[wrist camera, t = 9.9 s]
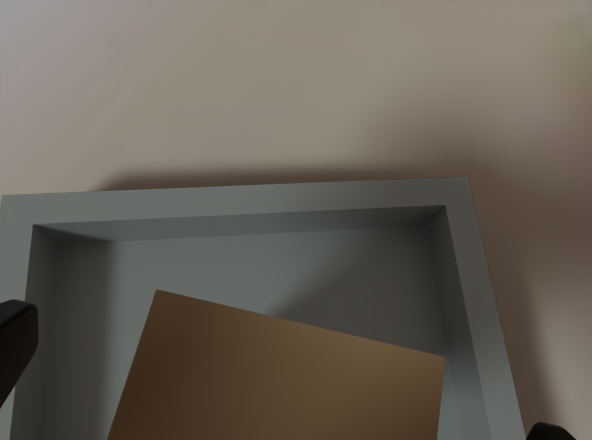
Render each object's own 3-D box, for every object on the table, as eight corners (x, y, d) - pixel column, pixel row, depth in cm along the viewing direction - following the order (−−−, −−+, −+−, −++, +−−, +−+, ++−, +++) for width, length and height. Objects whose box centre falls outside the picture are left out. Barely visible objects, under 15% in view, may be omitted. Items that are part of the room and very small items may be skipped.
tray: (530, 686, 17) (595, 754, 14) (-15, 769, 15) (-89, 870, 12) (438, 207, 23) (468, 176, 20) (40, 226, 21) (2, 195, 18)
